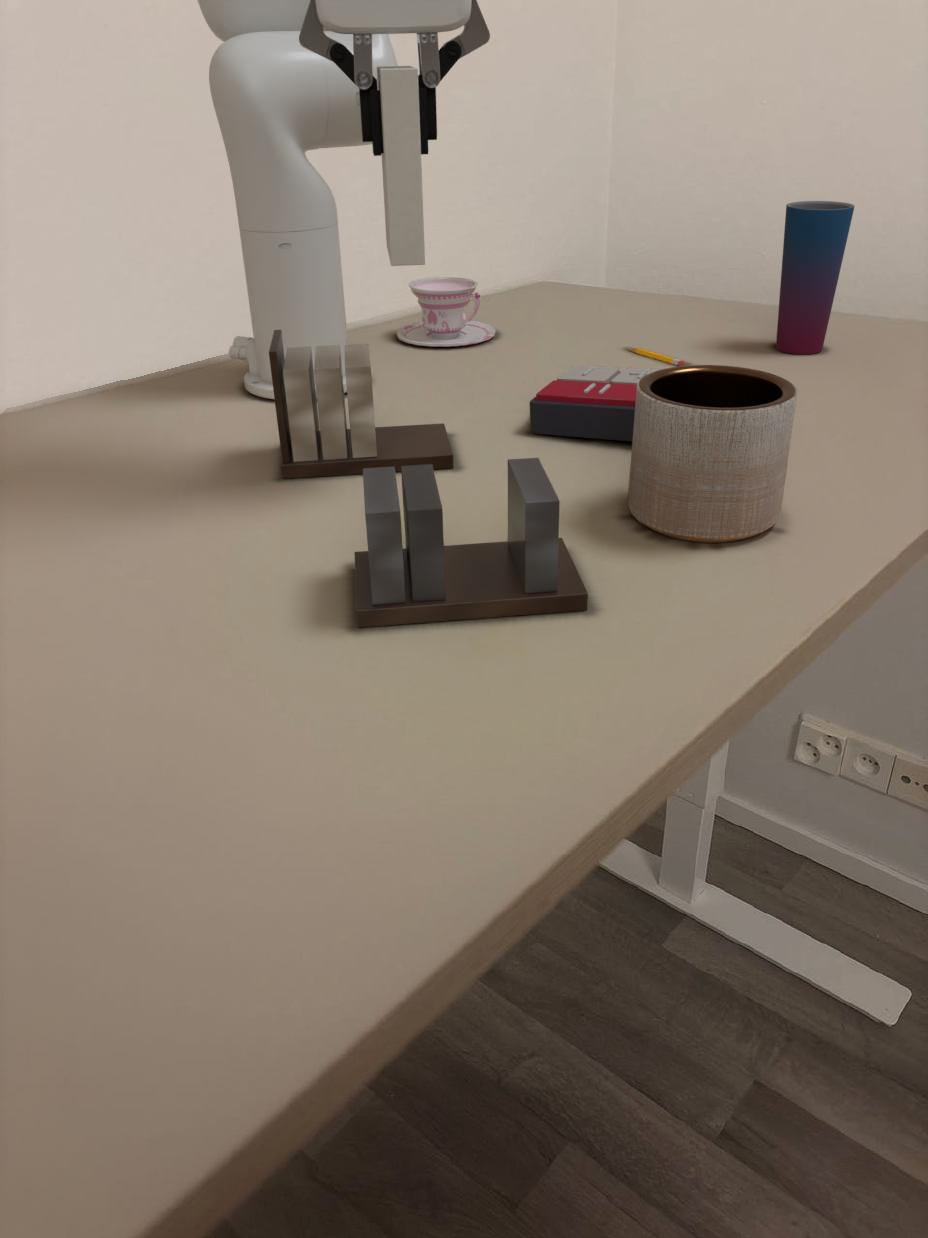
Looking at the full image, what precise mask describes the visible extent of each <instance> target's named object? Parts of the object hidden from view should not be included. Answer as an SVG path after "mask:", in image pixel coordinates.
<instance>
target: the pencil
mask: <svg viewBox="0 0 928 1238" xmlns="http://www.w3.org/2000/svg"><path fill="white" fill-rule="evenodd" d="M627 350H629V351H630V352H631V353H634V354H636V355H640V356H643V357H646V358H650V359H653V360H657V361H660V362H663V363H666V364H671V365H674V366H675V367H679V366H685V361H684V360H682V359H678V358H674V357H671V356H668V355H664V354H661V353H657V352H654V351H650V350H648V349H644V348H641V347H639V348H638V347H628V348H627Z"/></svg>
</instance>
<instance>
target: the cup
mask: <svg viewBox="0 0 928 1238" xmlns="http://www.w3.org/2000/svg"><path fill="white" fill-rule="evenodd" d="M854 211H855V205H854V204H853V203H849V202H845V201H844V202H843V201H835V200H834V201H832V200H803V201H793V202H789V203H786V207H785V218H784V220H785V221H784V232H783V245H782V246H783V248H782V257H781V258H782V259H781V271H780V272H781V273H780V285H779V286H780V287H779V299H778V312H777V327H776V341H775V349H776V350H778V351H779V352H782V353H786V354H790V355H792V354H793V355H813V354H818V353H821V352H822V351H823V349H824V344H825V339H826V335H827V330H828V327H829V326H828V325H829V322H830V317H831V312H832V308H833V304H834V300H835V296H836V291H837V286H838V281H839V279H840V278H839V277H840V273H841V269H842V263H843V259H844V255H845V250H846V246H847V243H848V242H847V241H848V237H849V232H850V229H851V225H852V220H853V215H854Z"/></svg>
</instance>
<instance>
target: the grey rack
mask: <svg viewBox="0 0 928 1238" xmlns="http://www.w3.org/2000/svg"><path fill="white" fill-rule="evenodd" d="M400 473H401V474H400V475H401V490H402V493H401V494H402V507H403V508H402V509H403V525H404V526H403V527H404V540H405V542H404V543H405V548H404V547H403V533H402V531H403V530H402V516H401V514H402V513H401V505H400V497H399V491H398V482H397V476H396V472H395V467H379V468H364V469H363V474H362V481H363V498H364V499H363V500H364V516H365V517H364V518H365V529H366V541H367V550H361V551H354V555H353V556H354V586H355V588H354V589H355V615H356V627H357V628H371V627H383V626H397V625H409V624H422V623H424V624H425V623H437V622H449V621H451V622H452V621H461V620H462V621H463V620H476V619H488V618H491V619H492V618H502V617H515V616H516V617H517V616H529V615H541V614H555V613H567V612H580V611H581V612H582V611H583V612H584V611H587V610H588V603H589V601H588V599H589V594H588V591H587V589H586V587H585V585H584V583H583V580H582V578H581V576H580V574H579V571H578V569H577V567H576V565H575V563H574V561H573V559H572V556H571V554H570V552H569V550H568V547H567V545H566V544H565V541H564V539H563V537H559V535H560V534H559V533H560V504H561V503H560V501H561V500H560V499H559V497H558V494H557V493H556V490H555V489H554V486H553V484H552V482H551V481H550V478H549V476H548V473H547V472H546V470H545V468H544V467H543V464H542V462H541V460H540V458H539V457H529V458H528V457H526V458H525V457H524V458H511V459H510V458H509V459H507V541H494V542H492V541H491V542H479V543H465V544H451V545H448V544H447V545H445V544H444V543H445V542H444V517H443V505H442V502H441V500H442V499H441V496H440V491H439V489H438V488H439V487H438V482H437V478H436V475H435V469H433V465H432V464H426V465H410V466H401V471H400Z"/></svg>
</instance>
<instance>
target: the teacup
mask: <svg viewBox="0 0 928 1238" xmlns="http://www.w3.org/2000/svg"><path fill="white" fill-rule="evenodd" d="M478 286H479V283H478V282H477V281H476V280H474V279H469V278H463V277H451V276H450V277H449V276H442V277H441V276H438V277H437V276H436V277H425V278H418V279H415V280H411V281H410V282H409V283H408V287H409V288H410V291H411V293H412V294H413V295H414V297H416V298H417V303H418V305H419V306H420V309H421V321H419V322H414V323H410V324H407V325H404V326H403V327H401V328H399V329H398V330H397V332H396V337H397V338H398V340H399V341H401V342H404V343H406V344H411V345H415V346H420V347H421V346H423V347H433V348H434V347H435V348H437V347H449V348H450V347H460V346H469V345H475V344H479V343H482V342H486V341H489V340H490V339H492V338H493V337H494V336H495V335H496V328H495V327H494V326H492V325H491V324H488V323H486V322H483V321H476V320H473V318H474V317H475V316H476V314H477V313H478V310H479V308H480V303H481V302H480V298H481V294H480V293H479V294H478V292H475V291H476V288H477V287H478ZM474 292H475V293H474ZM471 299H472V300H473V301H474V306H473V308H472V311H471V313H470V314H469V315H468V317H467V308H468V305H469V303H470V301H471Z"/></svg>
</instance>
